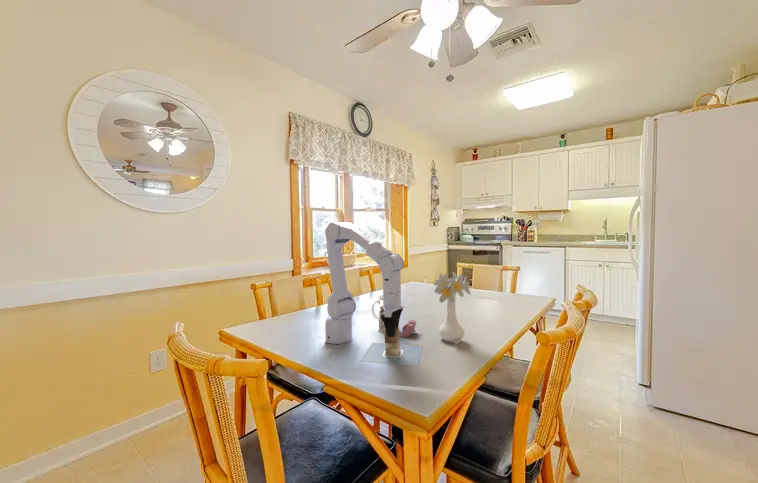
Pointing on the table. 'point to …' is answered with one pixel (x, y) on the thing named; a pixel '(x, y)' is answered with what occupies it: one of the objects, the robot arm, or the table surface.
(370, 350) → the board
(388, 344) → the birch block
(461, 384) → the table surface
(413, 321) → the video game controller
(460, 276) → the flower vase
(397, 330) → the walnut block
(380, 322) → the french press
